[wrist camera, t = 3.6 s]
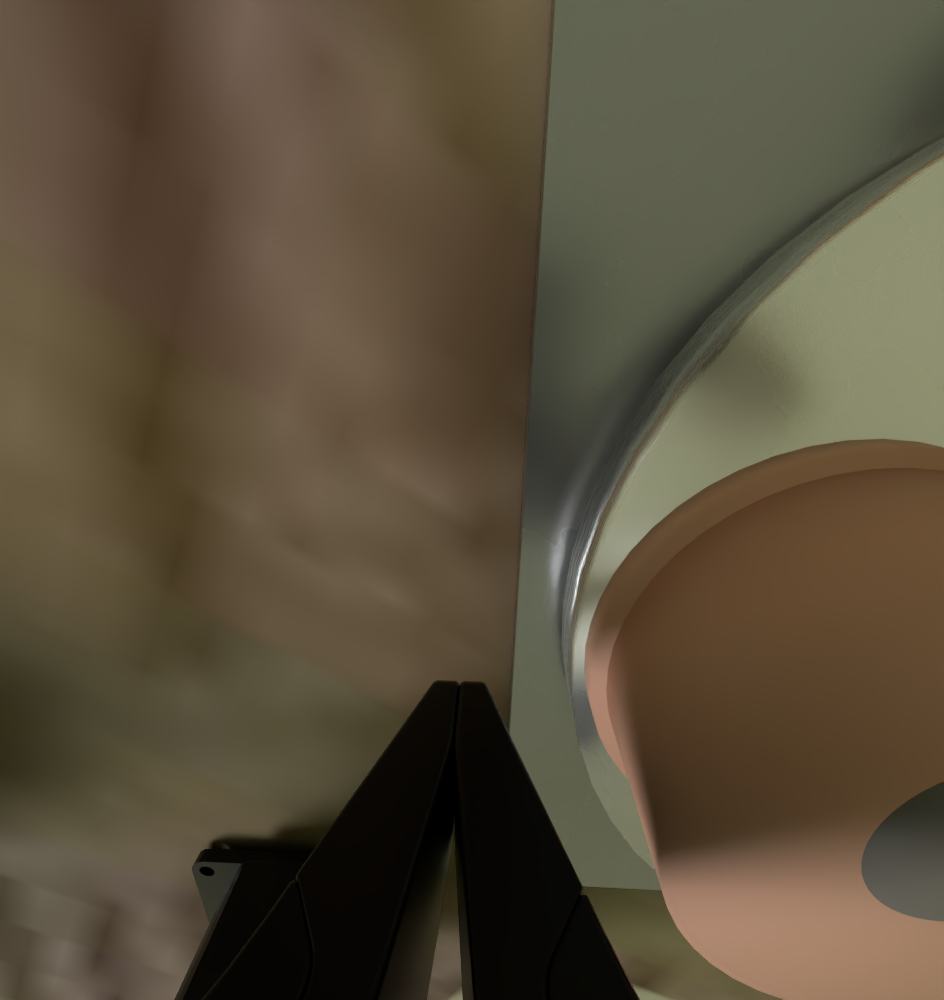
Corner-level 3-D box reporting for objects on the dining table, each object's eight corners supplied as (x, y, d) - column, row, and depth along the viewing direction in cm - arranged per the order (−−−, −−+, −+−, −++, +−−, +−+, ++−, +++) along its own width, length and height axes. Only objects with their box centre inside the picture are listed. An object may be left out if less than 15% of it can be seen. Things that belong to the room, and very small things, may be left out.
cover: (946, 814, 10) (1158, 1043, 7) (565, 797, 11) (599, 1011, 7) (1163, 445, 7) (1725, 548, 4) (613, 431, 7) (711, 519, 4)
